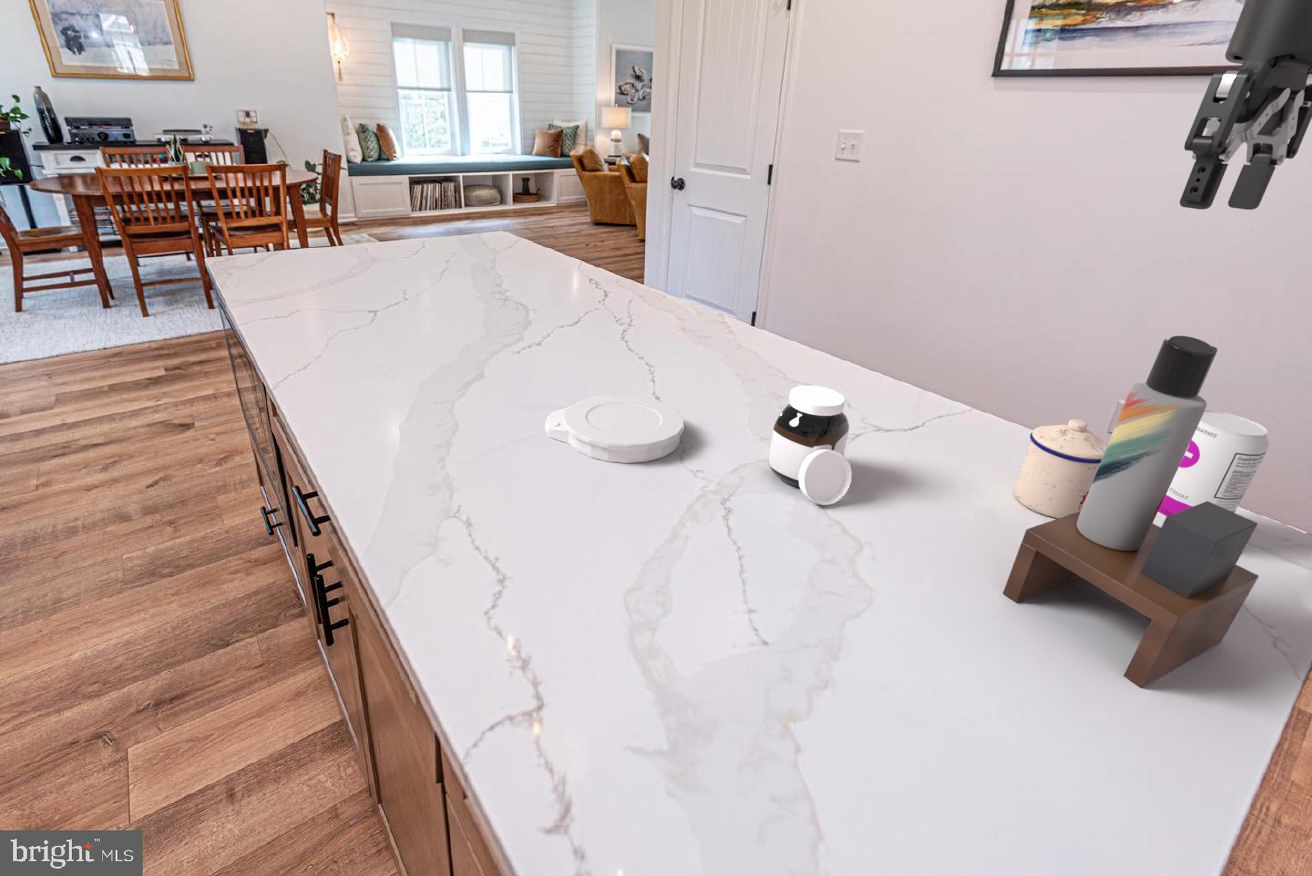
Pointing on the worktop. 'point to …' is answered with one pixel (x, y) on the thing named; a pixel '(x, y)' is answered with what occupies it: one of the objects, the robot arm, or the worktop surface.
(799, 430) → the spread jar
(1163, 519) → the supplement can
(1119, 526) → the lotion bottle
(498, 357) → the worktop surface
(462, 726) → the worktop surface
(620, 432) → the lid
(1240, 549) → the charcoal block
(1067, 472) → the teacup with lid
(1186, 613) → the riser
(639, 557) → the worktop surface
